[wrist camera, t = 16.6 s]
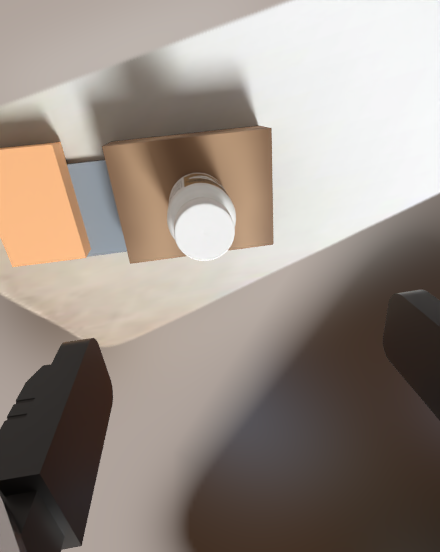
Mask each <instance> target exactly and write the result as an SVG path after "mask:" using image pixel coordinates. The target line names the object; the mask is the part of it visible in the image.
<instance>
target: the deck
mask: <svg viewBox="0 0 440 552" xmlns="http://www.w3.org/2000/svg"><path fill="white" fill-rule="evenodd" d="M102 148H103V153H104V157H105V161H106V165H107V169H108V173H109V178H110V182H111V186H112V190H113V194H114V198H115V202H116V207H117V211H118V215H119V219H120V223H121V227H122V232H123V236H124V240H125V244H126V248H127V252H128V257H129V261H130V264H131V263H139V262H146V261H154V260H161V259H169V258H176V257H183V256H186V255H185V254H184V253H183V252H182V251H181V250H180V249H179V247H178V246H177V244H176V241H175V239H174V238H173V237H172V235H171V233H170V231H169V228H168V224H167V211H168V204H169V197H170V193H171V190H172V188H173V186H174V185H175V183H176V182H177V181H178V180H179V179H181V178H182V177H183V176H185V175H188V174H191V173H205V174H208V175H210V176H212V177H214V178H215V179H217V180H218V181H219V182H220V183H221V185H222V186H223V188H224V189H225V191H226V192H227V194H228V196H229V197H230V199H231V201H232V203H233V205H234V208H235V212H236V224H235V235H234V240H233V242H232V245H231V246H230V248H229V249H228V250H236V249H243V248H250V247H258V246H265V245H273V193H272V135H271V128H268V127H263V126H251V127H242V128H233V129H224V130H214V131H205V132H196V133H187V134H177V135H168V136H159V137H150V138H141V139H131V140H122V141H113V142H110V143H108V144H106V145H104V146H102ZM228 250H227V251H228Z"/></svg>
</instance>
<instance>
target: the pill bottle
mask: <svg viewBox="0 0 440 552" xmlns="http://www.w3.org/2000/svg"><path fill="white" fill-rule="evenodd" d="M167 224H168V228H169V231H170V233H171V235H172V237H173V238H174V239H175V241H176V244H177V246H178V247H179V249H180V250H181V251H182V252H183V253H184V254H185V255H186V256H188V257H190V258H192V259H195V260H198V261H209V260H213V259H216V258H218V257H220V256H222V255H223V254H224V253H225V252H227V250H228V249H229V248H230V246H231V245H232V242H233V240H234V235H235V224H236V212H235V208H234V205H233V203H232V201H231V199H230V197H229V196H228V194H227V192H226V191H225V189H224V188H223V186H222V185H221V183H220V182H219V181H218V180H217V179H215V178H214V177H212V176H210V175H208V174H205V173H191V174H188V175H185V176H183V177H182V178H181V179H179V180H178V181H177V182H176V183H175V185H174V186H173V188H172V190H171V193H170V197H169V204H168V211H167Z"/></svg>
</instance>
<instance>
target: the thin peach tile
mask: <svg viewBox="0 0 440 552" xmlns="http://www.w3.org/2000/svg"><path fill="white" fill-rule="evenodd" d="M0 238H1V240H2V242H3V245H4V247H5V250H6V252H7V254H8V257H9V259H10V262H11V264H12V266H13V267H17V266H25V265H33V264H41V263H49V262H57V261H65V260H73V259H81V258H86V257H87V255H88V253H89V252H90V250H91V247H90V243H89V240H88V236H87V233H86V229H85V226H84V222H83V219H82V215H81V212H80V208H79V205H78V201H77V198H76V194H75V191H74V188H73V184H72V181H71V177H70V174H69V170H68V167H67V163H66V160H65V156H64V153H63V149H62V146H61V142H56V143H46V144H36V145H26V146H16V147H6V148H0Z"/></svg>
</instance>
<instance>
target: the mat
mask: <svg viewBox="0 0 440 552" xmlns="http://www.w3.org/2000/svg"><path fill="white" fill-rule="evenodd" d="M67 167H68V170H69V174H70V177H71V181H72V184H73V188H74V191H75V194H76V198H77V201H78V205H79V208H80V212H81V215H82V219H83V222H84V226H85V229H86V233H87V236H88V240H89V243H90V247H91V250H90V252H89V253H88V255H87V257H88V256H96V255H104V254H111V253H119V252H126V251H127V248H126V244H125V240H124V236H123V232H122V227H121V223H120V219H119V215H118V211H117V207H116V202H115V198H114V194H113V190H112V186H111V182H110V178H109V173H108V169H107V165H106V161H105V160H99V161H90V162H81V163H72V164H67Z"/></svg>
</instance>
